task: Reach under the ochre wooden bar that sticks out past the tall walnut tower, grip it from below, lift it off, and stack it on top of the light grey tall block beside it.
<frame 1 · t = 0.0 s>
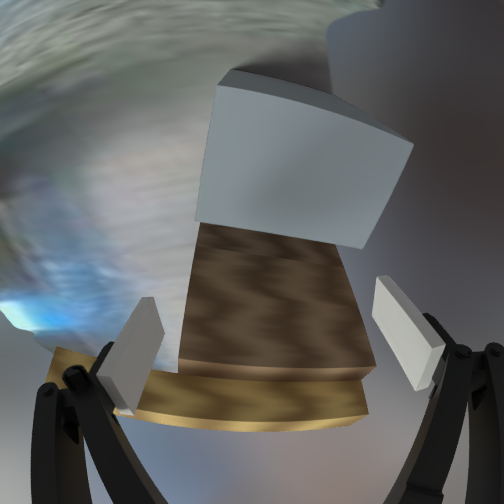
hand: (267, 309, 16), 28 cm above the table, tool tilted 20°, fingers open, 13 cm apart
tall tower: (258, 223, 46), on the table
light grey tall block: (274, 114, 34), on the table
ochre bar: (210, 385, 24), point 27 cm above the table, touching tall tower
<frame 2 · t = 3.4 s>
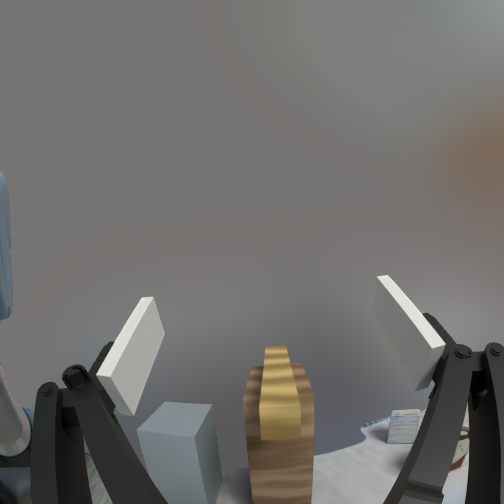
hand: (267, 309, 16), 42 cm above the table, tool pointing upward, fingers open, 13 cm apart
tall tower: (281, 491, 41), on the table
food container: (438, 468, 34), on the table
medicine box: (401, 440, 51), on the table
light grey tall block: (193, 494, 40), on the table
ochre bar: (278, 390, 38), point 27 cm above the table, touching tall tower
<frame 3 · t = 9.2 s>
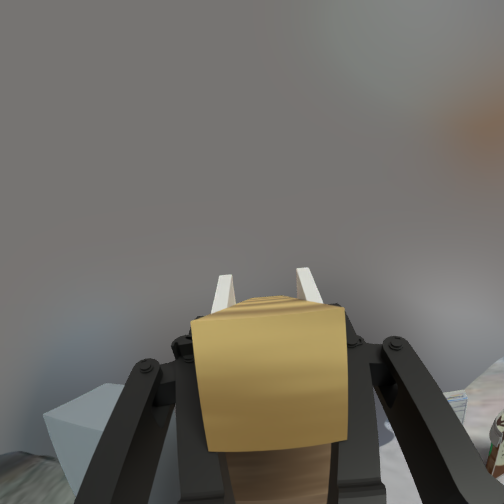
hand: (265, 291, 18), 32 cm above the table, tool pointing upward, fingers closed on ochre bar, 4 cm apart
food container: (500, 464, 18), on the table
medicine box: (442, 434, 34), on the table
ochre bar: (270, 349, 21), point 28 cm above the table, touching gripper, tall tower
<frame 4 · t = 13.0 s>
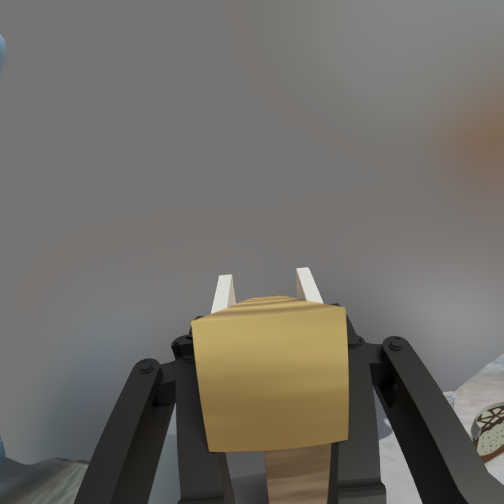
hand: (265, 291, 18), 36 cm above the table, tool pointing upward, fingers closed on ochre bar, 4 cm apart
tall tower: (303, 501, 31), on the table
food container: (483, 455, 25), on the table
medicine box: (434, 429, 42), on the table
ochre bar: (270, 349, 21), point 31 cm above the table, touching gripper
when the fingers open (27 cm above the table, at t = 17.2 s): ochre bar drops 2 cm, resting on light grey tall block.
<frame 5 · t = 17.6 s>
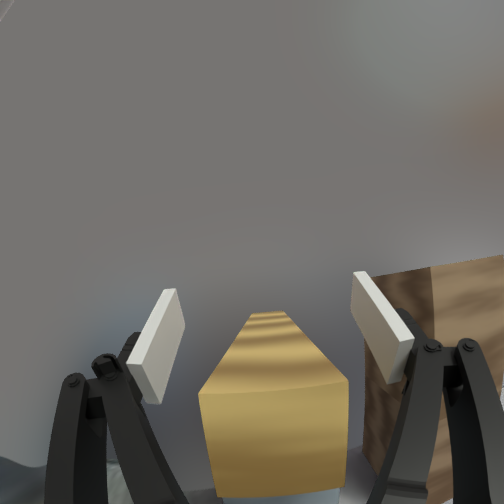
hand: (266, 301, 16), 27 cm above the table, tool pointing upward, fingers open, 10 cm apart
tall tower: (413, 469, 23), on the table
ochre bar: (272, 373, 21), point 20 cm above the table, touching light grey tall block
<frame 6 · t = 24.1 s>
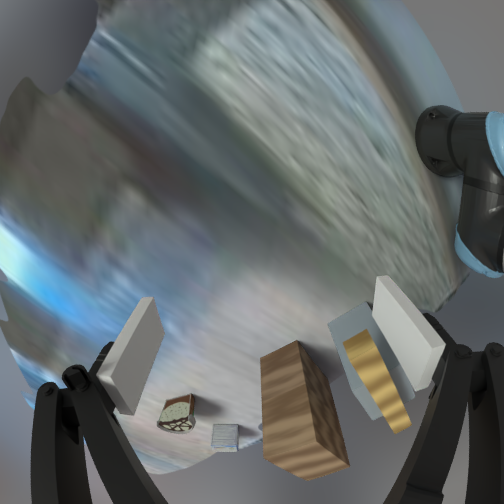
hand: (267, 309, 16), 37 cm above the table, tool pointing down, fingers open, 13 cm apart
tall tower: (296, 370, 66), on the table
food container: (184, 402, 72), on the table
medicine box: (226, 426, 76), on the table
light grey tall block: (357, 331, 61), on the table
ochre bar: (381, 385, 41), point 20 cm above the table, touching light grey tall block
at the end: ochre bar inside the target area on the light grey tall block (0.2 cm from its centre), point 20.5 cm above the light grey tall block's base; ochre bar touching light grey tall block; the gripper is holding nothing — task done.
